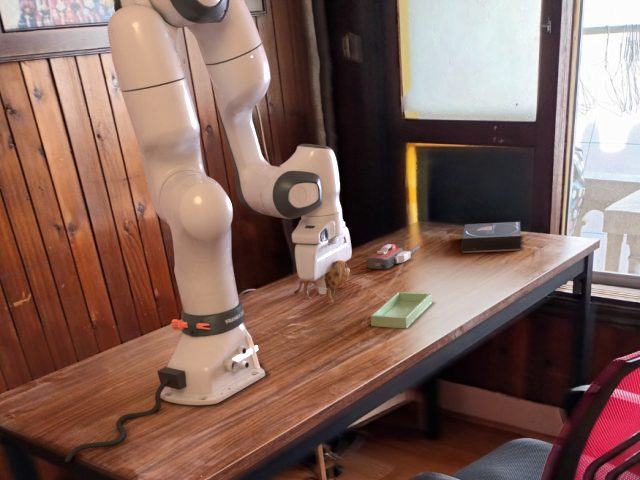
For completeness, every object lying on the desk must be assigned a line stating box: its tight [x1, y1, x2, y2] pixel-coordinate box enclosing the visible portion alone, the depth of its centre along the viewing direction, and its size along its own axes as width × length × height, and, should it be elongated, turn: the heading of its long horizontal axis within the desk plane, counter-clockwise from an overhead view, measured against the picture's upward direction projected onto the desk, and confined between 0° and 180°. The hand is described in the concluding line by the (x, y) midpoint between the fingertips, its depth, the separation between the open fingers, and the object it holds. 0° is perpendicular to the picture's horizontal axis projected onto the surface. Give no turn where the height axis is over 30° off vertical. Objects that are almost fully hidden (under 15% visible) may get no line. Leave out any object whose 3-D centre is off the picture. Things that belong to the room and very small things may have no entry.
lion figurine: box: [293, 260, 351, 304], centre depth 170 cm, size 15×5×9 cm, turn 66°
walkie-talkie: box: [366, 243, 421, 271], centre depth 215 cm, size 9×4×20 cm
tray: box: [370, 291, 433, 329], centre depth 177 cm, size 17×9×2 cm, turn 157°
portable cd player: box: [460, 221, 522, 254], centre depth 222 cm, size 16×17×4 cm
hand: (328, 290), depth 170 cm, fingers closed on lion figurine, 4 cm apart
